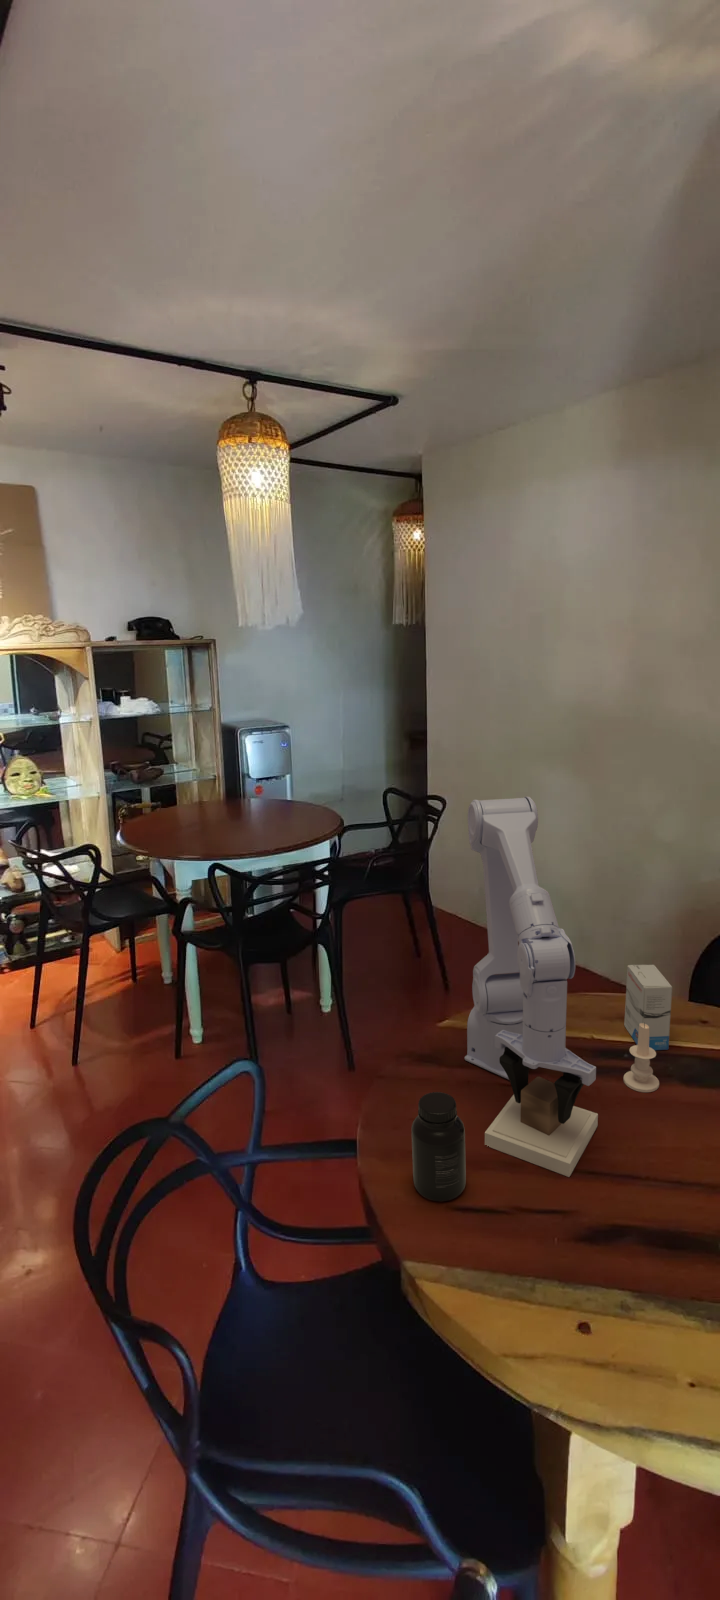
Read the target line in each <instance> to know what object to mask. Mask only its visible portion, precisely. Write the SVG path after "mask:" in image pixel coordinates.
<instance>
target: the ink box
mask: <svg viewBox="0 0 720 1600" xmlns="http://www.w3.org/2000/svg"><path fill="white" fill-rule="evenodd" d="M625 989H626V990H625V1007H624V1027H625V1029H626V1030H627V1032H628V1033H629V1035H630V1036H631V1038H632V1039H633V1041H634V1043H635V1044H636V1045H638V1033H639V1024H640V1023H643V1024H644V1022H645V1024H646V1025H648V1026H649V1047H650V1048H652V1049H654V1050H655V1051H663V1050H664V1051H665V1050H669V1048H670V1047H669V1046H670V1044H669V1043H670V1030H671V1029H670V1028H671V1013H672V1012H671V1011H672V997H673V986H672V985H671V984H670V982H669V981H668V979H666V977H665V976H664V975H663V973H662V972H661V971H660V970H659V968H657V967H656V965H655V964H628V965H627V971H626V988H625Z"/></svg>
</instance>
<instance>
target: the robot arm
mask: <svg viewBox="0 0 720 1600" xmlns="http://www.w3.org/2000/svg"><path fill="white" fill-rule="evenodd" d="M538 825H539V813H538V808H537V804H536V802H535V801H534V800H533V799H532V798H531V796H524V797H515V798H499V799H495V798H494V799H481V800H479V799H473V800H472V801H471V802H470V804H469V806H468V809H467V827H468V829H467V830H468V841H469V845H470V850H472V851H474V852H477V853H480V858H481V861H482V868H483V869H482V870H483V883H484V895H485V897H484V898H485V900H484V901H485V909H486V912H485V913H486V926H487V927H486V929H487V941H488V953H487V955H485V956H484V957H482V958H481V960H479V961H478V962H477V963H476V964H475V965H474V966H473V969H472V977H473V978H472V985H471V987H472V988H471V990H472V991H471V993H472V999H473V1004H474V1005H473V1008H472V1009H470V1010H471V1011H470V1013H469V1016H468V1017H467V1025H466V1028H467V1029H466V1035H467V1037H466V1040H467V1041H466V1042H467V1044H466V1047H467V1049H466V1050H467V1051H466V1052H467V1054H466V1055H465V1056H464V1060H465V1061H467V1062H469V1063H471V1064H474V1065H476V1066H477V1067H480V1068H482V1069H484V1070H486V1071H488V1072H491V1073H493V1074H495V1075H498V1076H499V1077H502V1078H503V1079H507V1080H508V1081H509V1082H510V1086H511V1089H512V1093H513V1095H514V1097H515V1101H516V1102H517V1103H519V1104H520V1103H521V1090H522V1089H523V1088H524V1087H526V1086H527V1085H528V1084H529V1075H530V1074H529V1073H530V1069H532V1070H536V1069H538V1068H544V1069H548V1070H552V1071H557V1072H561V1073H562V1075H561V1076H559V1078H557V1079H556V1080H555V1081H554V1082H553V1083H554V1085H555V1088H556V1092H557V1097H558V1121H559V1122H560V1123H562V1124H564V1123H565V1122H566V1121H567V1120H568V1119H569V1118H570V1117H571V1112H572V1109H573V1106H575V1103H576V1099H577V1098H578V1095H579V1093H580V1091H581V1089H582V1088H583V1086H584V1085H585V1086H588V1087H589V1086H590V1085H592V1084H593V1083H594V1082H595V1081H596V1080H597V1079H596V1078H597V1066H595V1065H593V1064H590V1063H588V1062H587V1061H585V1060H584V1059H582V1058H581V1057H579V1056H578V1055H576V1054H575V1053H574V1052H572V1051H571V1050H570V1049H568V1048H567V1047H566V1042H567V1041H566V1038H567V1035H566V1034H567V1030H566V1029H567V1003H568V1002H567V1001H568V1000H567V999H568V980H567V979H570V980H571V979H573V978H574V976H575V973H576V956H575V951H574V947H573V943H572V941H571V939H570V938H569V937H570V936H568V935H567V934H566V931H565V929H563V928H560V925H559V922H558V918H557V916H556V913H555V909H554V906H553V902H552V899H551V895H550V893H549V891H548V890H546V889H545V888H543V887H542V886H540V885H539V880H538V873H537V868H536V864H535V858H534V852H533V848H532V847H533V846H532V843H533V842H534V841H535V838H536V833H537V831H538V827H539V826H538Z"/></svg>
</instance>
